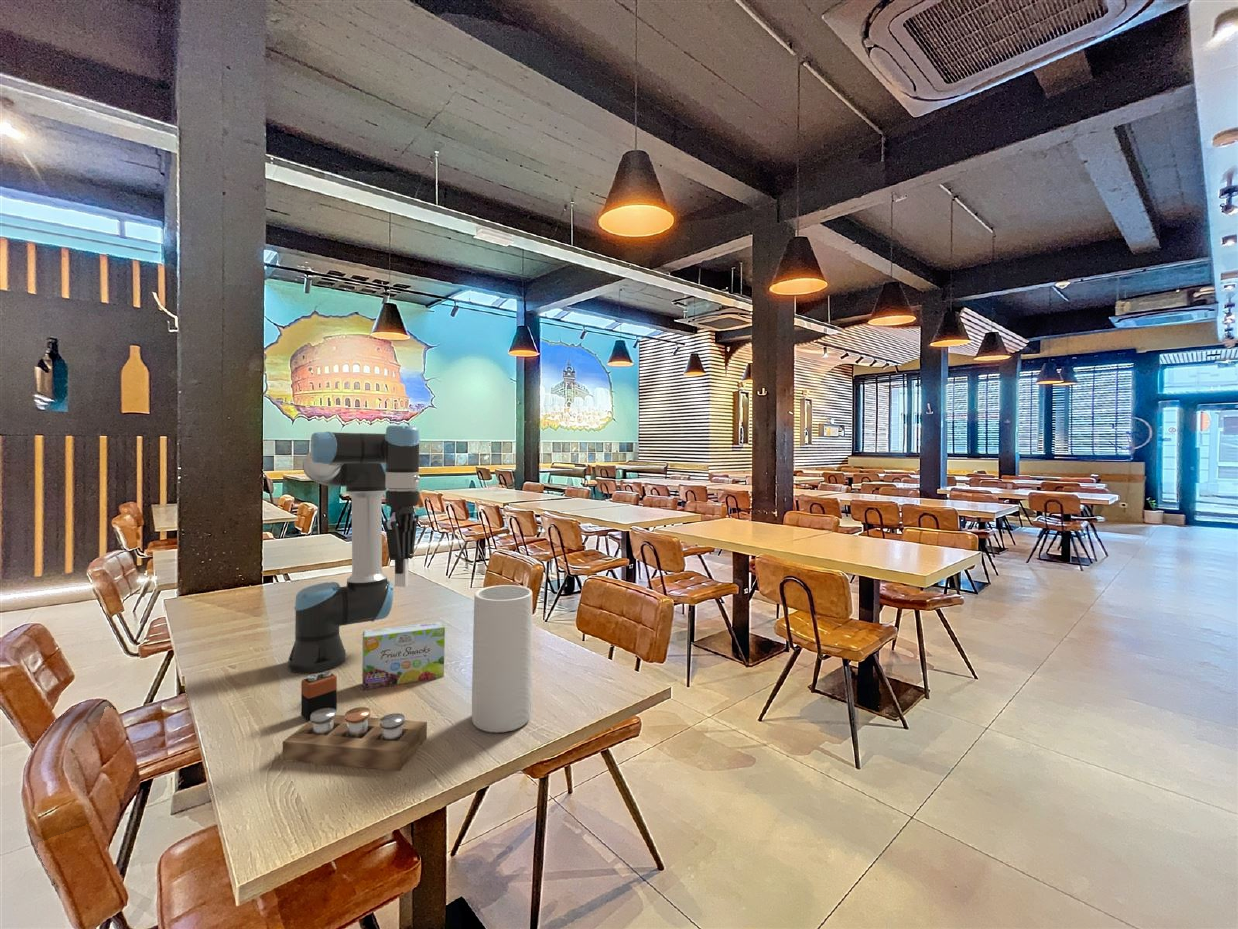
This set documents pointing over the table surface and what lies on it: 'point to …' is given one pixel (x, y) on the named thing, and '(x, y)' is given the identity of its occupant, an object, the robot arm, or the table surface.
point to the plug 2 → (392, 726)
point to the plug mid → (357, 722)
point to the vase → (502, 658)
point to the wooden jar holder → (355, 745)
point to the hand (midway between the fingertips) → (401, 585)
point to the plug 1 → (323, 721)
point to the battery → (318, 693)
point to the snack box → (403, 654)
